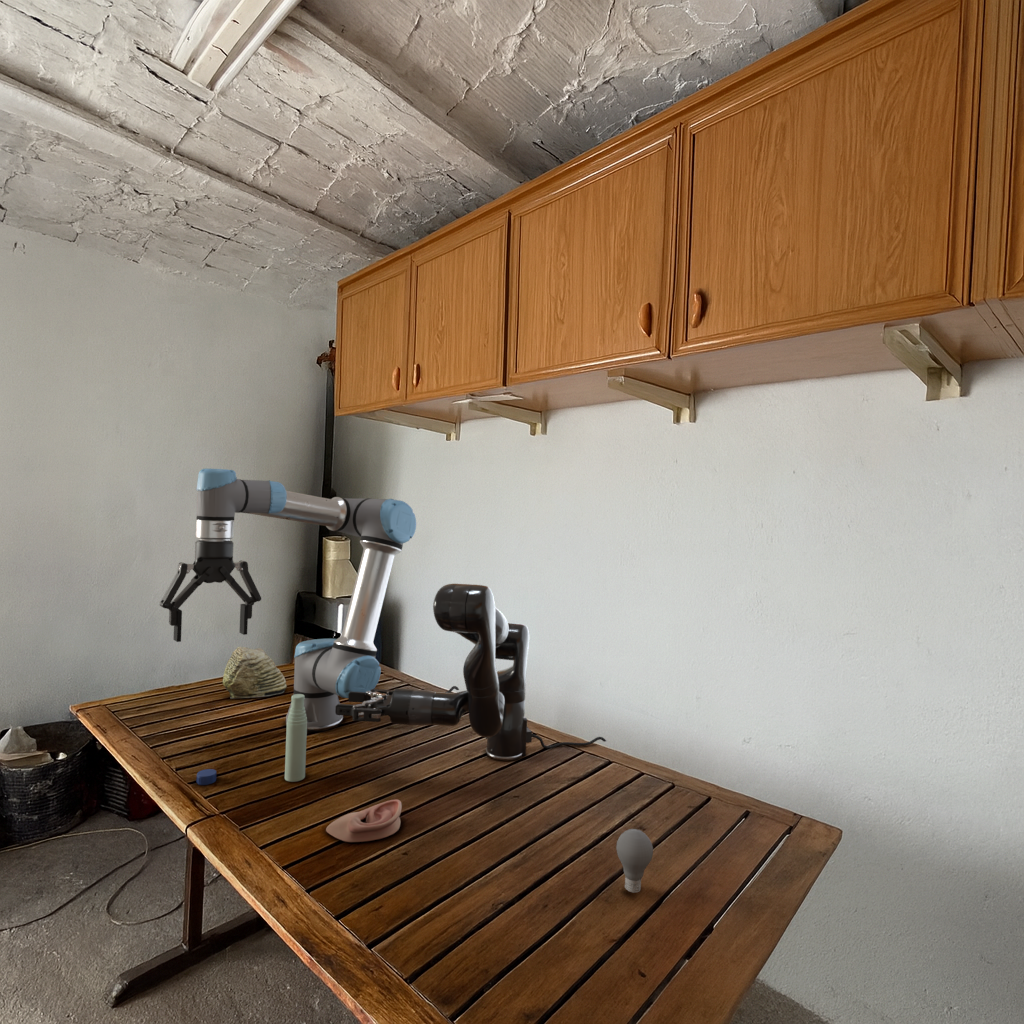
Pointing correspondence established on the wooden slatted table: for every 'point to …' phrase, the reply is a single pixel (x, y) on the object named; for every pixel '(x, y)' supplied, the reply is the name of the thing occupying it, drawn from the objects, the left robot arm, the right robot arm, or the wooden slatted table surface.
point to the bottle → (296, 740)
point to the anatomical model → (368, 823)
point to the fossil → (252, 674)
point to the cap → (206, 777)
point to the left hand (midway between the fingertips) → (211, 637)
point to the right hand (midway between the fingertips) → (342, 702)
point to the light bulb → (634, 857)
